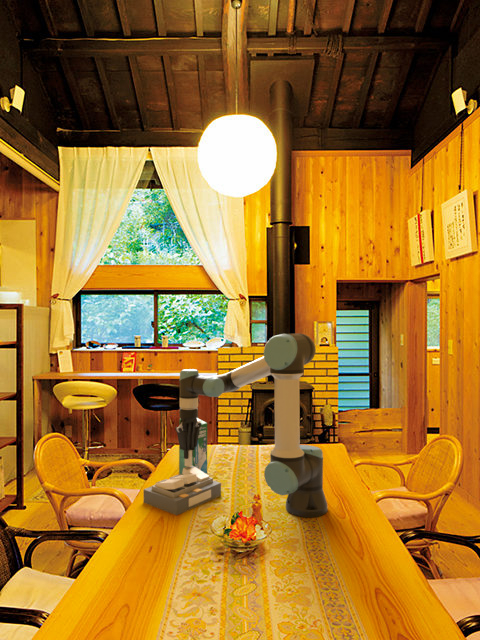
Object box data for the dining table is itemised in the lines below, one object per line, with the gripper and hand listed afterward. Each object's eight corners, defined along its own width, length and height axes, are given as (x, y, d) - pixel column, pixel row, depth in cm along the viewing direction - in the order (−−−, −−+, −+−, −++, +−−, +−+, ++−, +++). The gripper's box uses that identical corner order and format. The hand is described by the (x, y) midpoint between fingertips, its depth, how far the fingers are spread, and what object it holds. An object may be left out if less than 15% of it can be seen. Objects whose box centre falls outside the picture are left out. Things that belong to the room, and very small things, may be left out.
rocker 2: (197, 480, 180) (196, 473, 180) (187, 484, 176) (186, 477, 176) (179, 481, 186) (178, 474, 186) (170, 484, 182) (169, 477, 182)
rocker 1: (184, 485, 174) (182, 478, 175) (174, 489, 170) (173, 482, 171) (166, 486, 180) (165, 479, 181) (156, 489, 176) (155, 482, 177)
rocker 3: (208, 481, 186) (209, 475, 185) (199, 484, 182) (200, 478, 181) (190, 470, 192) (192, 464, 191) (182, 473, 188) (183, 467, 187)
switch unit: (221, 495, 185) (221, 478, 185) (176, 515, 166) (177, 496, 166) (188, 485, 196) (188, 469, 196) (143, 502, 177) (143, 485, 177)
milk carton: (193, 478, 205) (193, 421, 205) (178, 473, 210) (179, 418, 210) (207, 472, 212) (207, 417, 212) (192, 468, 217) (192, 415, 217)
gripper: (193, 404, 196) (192, 460, 196) (170, 409, 186) (169, 468, 186) (206, 406, 192) (206, 464, 192) (183, 411, 181) (183, 472, 182)
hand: (188, 466), depth 189 cm, fingers closed
